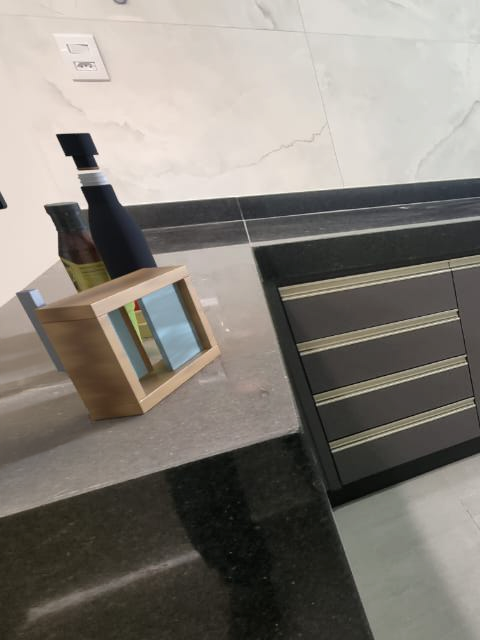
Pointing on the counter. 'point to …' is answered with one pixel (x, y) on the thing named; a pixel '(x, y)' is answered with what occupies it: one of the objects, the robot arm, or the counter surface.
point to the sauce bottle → (77, 246)
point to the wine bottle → (107, 213)
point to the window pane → (118, 320)
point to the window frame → (107, 352)
